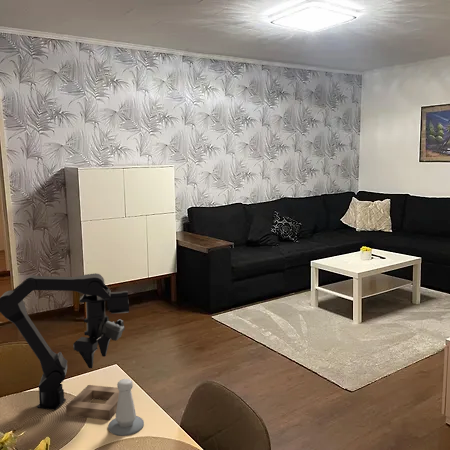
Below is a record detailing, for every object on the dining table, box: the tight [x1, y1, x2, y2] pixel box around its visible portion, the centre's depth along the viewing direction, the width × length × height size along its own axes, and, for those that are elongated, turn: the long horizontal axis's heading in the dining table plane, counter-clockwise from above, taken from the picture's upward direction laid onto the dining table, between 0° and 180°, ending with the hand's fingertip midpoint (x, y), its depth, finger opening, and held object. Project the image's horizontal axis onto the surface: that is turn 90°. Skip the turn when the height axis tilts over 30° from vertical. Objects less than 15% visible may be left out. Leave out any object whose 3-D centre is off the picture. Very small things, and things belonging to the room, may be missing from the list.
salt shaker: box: [115, 378, 137, 428], centre depth 134 cm, size 6×6×13 cm
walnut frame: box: [65, 384, 119, 421], centre depth 145 cm, size 14×14×3 cm
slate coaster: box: [108, 415, 145, 437], centre depth 134 cm, size 10×10×1 cm
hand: (97, 362), depth 148 cm, fingers open, 9 cm apart
